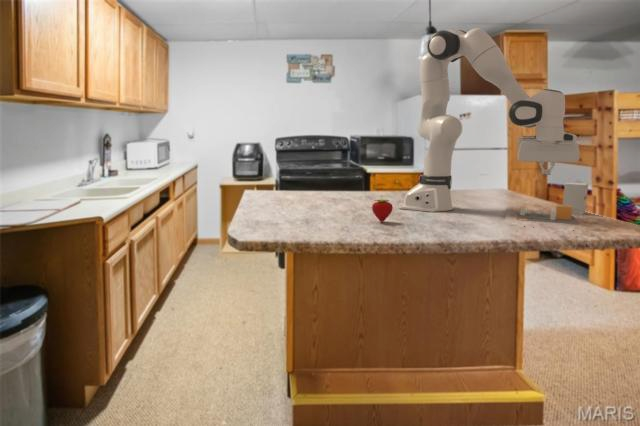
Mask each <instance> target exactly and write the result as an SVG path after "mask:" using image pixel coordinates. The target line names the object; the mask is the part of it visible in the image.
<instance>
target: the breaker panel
mask: <svg viewBox="0 0 640 426" xmlns="http://www.w3.org/2000/svg"><path fill="white" fill-rule="evenodd" d="M516 220H517V221H524V222H539V223H540V222H541V223H553V224H554V223H556V224H568V225H569V224H571V225H579V222H578V221H577V219H576V218H575V216H573V215H572V217H571V219H556V217H555V220H550V214H543V212H542V211H536V213H532V211H531V210H530V211H529V210H525V216H524V215H520V212H516Z"/></svg>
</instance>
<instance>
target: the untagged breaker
mask: <svg viewBox="0 0 640 426" xmlns="http://www.w3.org/2000/svg"><path fill="white" fill-rule="evenodd" d="M525 211H526V205H520V212H519V213H520V215H524V216H525Z"/></svg>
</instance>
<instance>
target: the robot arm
mask: <svg viewBox="0 0 640 426" xmlns="http://www.w3.org/2000/svg"><path fill="white" fill-rule="evenodd" d="M426 46H427V47H426V48H427V51H428V53H425V54H424V55H422V57H421V59H420V65H419V80H420V82H419V83H420V90H421V102H422V103H421V113H420V115H421V116H420V121H419V122H418V126H417V131H418V134H419V136H420V137H421V138H423V139H424V140H426V141H428V142H429V145H428V149H427V152H426V153H425V154H424V158H423V161H424V162H423V174H420V175H419V176H418V183H417V184H416V185H414V186H413V187H412V188H411V189H410V190H408V191H407V192H406V193H405V197H404V200H403V202H401V203H399V204H398V208H399V209H401V210H411V211H421V212H432V213H436V212H448V211H451V210H453V209H454V207H453V203H452V196H451V195H452V194H451V189H452V184H453V179H452V178H453V177H452V160H453V159H452V157H453V153H454V150H455V146H456V144H457V140H458V139H459V138H460V136H461V135H462V133H463V124H462V121H461V120H460V119H459V118H458V117H455V116H453V115H451V114H447V108H448V103H449V101H450V99H451V94H450V83H449V81H450V80H449V74H448V73H449V72H448V71H449V70H448V68H449V64H450V62H451V63H455V62H456V61H458V60H459V59H461V58H463V57H465V58H466V59H467V61H468V62H469V63H470V65H471V67H472V68H473V69H474V70H475V72H476V73H477V74H478V75H479V76H480V77H481V78H482V79H484V81H486V82H489V83H490V84H492V85H494V86H495V87H497V88H498V89H499V90H500V91H501V92H502V93H503V95H504V96H505V98H506V99H507V100H508V101H509V103H510V104H511V106H510V108H509V111H508V117H509V120H510V122H512V123H513V124H514V125H516V126H518V127H524V128H534V127H535V129H536V130H535V135H522V136H521V137H519V138H518V139H517V147H518V151H517V156H516V157H517V161H518V162H524V163H525V162H526V163H527V162H528V163H529V162H530V163H532V162H533V163H534V162H536V163H539V167H540V169H541V175H547V176H548V175H549V176H551V174H552V170H553V169H554V167H555V166H556V163H578V162H579V161H580V146H579V144H578V143H577V142H576V141H577V139H578V136H577V134H573V133H570V132H568V131H564V117H565V114H566V97H565V94H564V93H563V92H562V91H560V90H555V89H550V88H549V89H548V88H544V89H541V90H540V91H538V92H537V93H535V94H534V95H531V96H529V95H528V94H527V92H526V91H525V90H524V89H523V88H522V86H521V84H520V83H519V82H518V81H517V79H516V78H515V76H514V74H513V72H512V71H511V68H510V66H509V64H508V61H507V59H506V57H505V55H504V53H503V52H502V50H501V48H500V47H499V46H498V44H497V43H496V41H494V39H493V38H492V37H491V36H490V35H489V34H488V33H487V32H486V31H485V30H484V29H483V28H479V27H475V28H472V29H469V30H468V31H467V32H466V31H465V30H462V29H454V28H452V29H446V30H444V29H443V30H442V29H441V30H438V31H435V33H432V35H430V37H429V38H428V40H427V45H426ZM545 163H550V168H549V169H545V168H544V164H545Z"/></svg>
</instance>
